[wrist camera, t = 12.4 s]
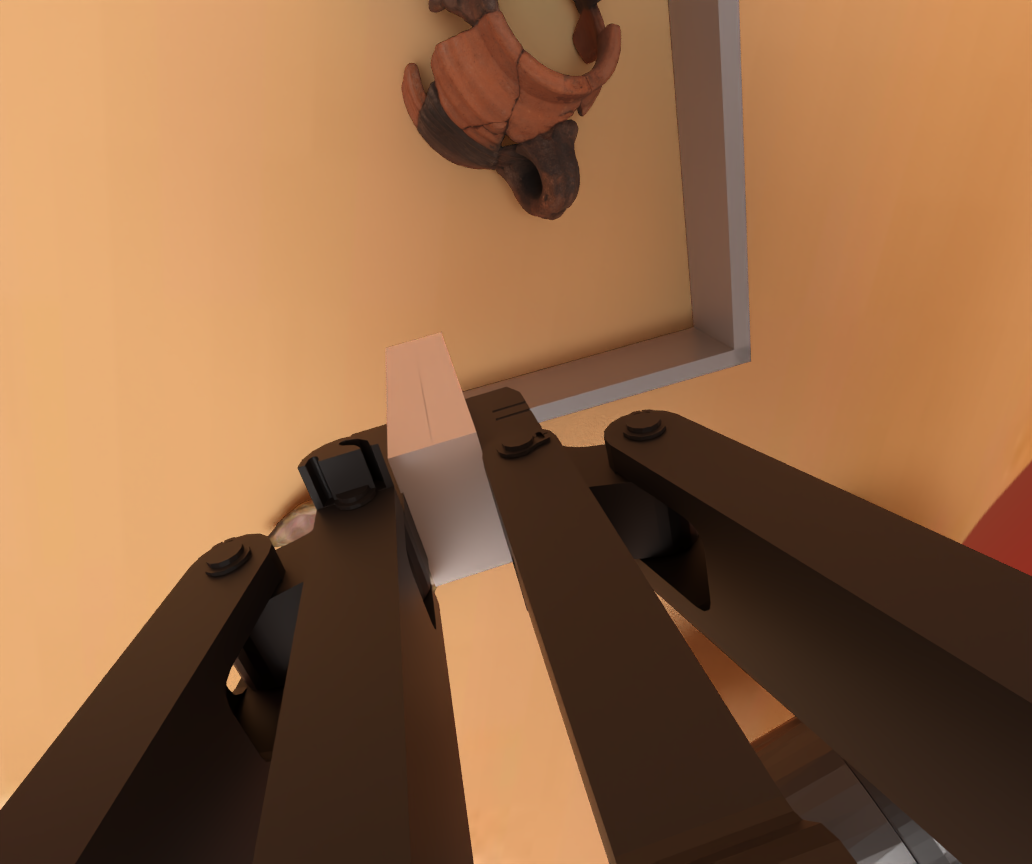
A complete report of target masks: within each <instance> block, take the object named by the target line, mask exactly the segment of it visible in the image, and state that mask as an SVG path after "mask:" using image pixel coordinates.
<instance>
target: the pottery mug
mask: <svg viewBox="0 0 1032 864" xmlns="http://www.w3.org/2000/svg"><path fill="white" fill-rule="evenodd" d="M573 1H574V2H575V5H576V8H577V10H578V12H579V13H580V17H579V20H578V23H577V25H576V29H575V32H574V35H573V42H574V45H575V47H576V49H577V51H578V53H579V55H580V56H581V57H582V59H583V61H584V62H585V63H586V64H588V63H591V62H593V61H595V60H596V63H595V65H594V67H593V69H592V70H591V71H590V72H588V73H586V74H584V75H582V76H569V75H563V74H560V73H558V72H555V71H553V70H551V69H549V68H547V67H546V66H544V65H543V64H541V63H539V62H538V61H537V60H536V59H535V58H534V57H532V56H531V55H530V54H529V53H528V52H527V51H525V50H524V49H523V47H522V45H521V44H520V43H519V41H518V40H517V39H516V38H515V36H514V34H513V33H512V31H511V29H510V28H509V26H508V24H507V22H506V20H505V18H504V16H503V14H502V12H501V11H500V9H499V7H498V0H429V9H430V11H431V12H435V13H436V12H439V11H442V10H444V9H445V8H446V9H447V10H448V11H449V12H452V13H454V14H456V15H458V16H460V17H462V18H463V19H464V20H465V21H466V22H468V23H469V24H470V25H472V28H471V29H470V30H466V31H463V32H461V33H459V34H458V35H456V36H453V37H451V38H449V39H447V40H445V41H443V42H440V43H439V44H437V45H436V47H435V51H434V53H433V55H432V60H431V68H432V71H433V75H434V78H435V81H434V82H432V83H431V84H430V87H429V89H428V92H427V97H426V94H425V92H424V89H423V86H422V83H421V79H420V75H419V71H418V67H417V65H416V64H415V63H409V64H408V65H407V66H406V68H405V72H404V78H403V83H402V93H403V98H404V102H405V105H406V108H407V110H408V113H409V115H410V117H411V119H412V121H413V123H414V125H415V126H416V127H417V129H418V131H419V133H420V134H421V136H422V137H423V138H424V139H425V140H426V141H427V143H428V144H429V145H430V146H431V147H432V148H433V149H434V150H435V151H437V152H438V153H439V154H440V155H442V156H443V157H444V158H446V159H447V160H449V161H451V162H452V163H455V164H457V165H461V166H464V167H468V168H473V169H492V170H495V169H496V171H497V173H498V174H500V175H501V176H502V177H503V178H504V179H505V180H506V182H507V183H508V184H509V186H510V188H511V189H512V191H513V193H514V195H515V197H516V199H517V200H518V202H519V203H520V205H521V206H522V208H523V209H524V210H526V211H527V212H528V213H529V214H531V215H534V216H538V217H541V218H544V219H550V220H554V219H556V218H559V217H560V216H561V215H562V214H563V213H564V211H565V210H566V209H567V208H569V207H570V206H571V205H572V203H573V202H574V200H575V199H576V197H577V194H578V190H579V185H580V174H579V166H578V162H577V159H576V156H575V150H574V142H575V139H576V136H577V132H578V126H577V124H576V122H575V121H573V120H567V119H568V118H569V117H570V116H572V115H573V113H574V111H575V110H576V109H577V111H578V114H579V115H580V116H584V115H585V114H586V113H587V112H588V110H589V109H590V107H591V106H592V104H593V103H594V101H595V99H596V97H597V96H598V94H599V92H600V90H601V87H602V85H603V84H604V83H606V82H607V80H608V79H609V78H610V77H611V75H612V74H613V72H614V71H615V68H616V65H617V63H618V59H619V55H620V51H621V30H620V26H618V25H615V24H613V23H612V24H609V25H607V26H606V27H605V25H604V21H603V18H602V16H601V13H600V11H599V8H598V6H597V2H599V1H600V0H573ZM505 135H507V136H509V138H510V139H511V140H512V141H514V142H517V143H519V144H512V145H508V146H504V147H502V146H501V143H502V141H503V139H504V136H505Z"/></svg>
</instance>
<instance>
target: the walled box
mask: <svg viewBox="0 0 1032 864" xmlns="http://www.w3.org/2000/svg"><path fill="white" fill-rule="evenodd" d="M668 5H669V18H670V31H671V43H672V56H673V69H674V82H675V95H676V108H677V120H678V133H679V146H680V159H681V172H682V185H683V198H684V210H685V223H686V236H687V249H688V262H689V275H690V288H691V300H692V313H693V326H694V327H692V328H688V329H685V330H681V331H678V332H674V333H671V334H667V335H664V336H660V337H656V338H653V339H649V340H646V341H642V342H639V343H635V344H631V345H628V346H624V347H621V348H617V349H614V350H610V351H607V352H603V353H599V354H596V355H592V356H589V357H585V358H582V359H578V360H574V361H571V362H567V363H564V364H560V365H557V366H553V367H550V368H546V369H542V370H539V371H535V372H532V373H528V374H525V375H521V376H518V377H514V378H510V379H507V380H503V381H500V382H496V383H493V384H489V385H485V386H482V387H478V388H475V389H471V390H468V391H464V392H462V393H463V395H464V398H465V399H467V398H470V397H473V396H477V395H480V394H483V393H487V392H490V391H493V390H497V389H500V388H503V387H509V388H511V389H514V390H516V391H519V392H520V393H521V394H522V396H523V398H524V399H525V401H526V403H527V404H528V406H529V408H530V410H531V411H532V413H533V414H534V416H535V418H536V419H537V421H538V423H540V422H543V421H546V420H550V419H553V418H557V417H560V416H564V415H567V414H571V413H574V412H578V411H581V410H584V409H588V408H591V407H595V406H598V405H602V404H605V403H609V402H612V401H616V400H619V399H622V398H626V397H629V396H633V395H636V394H640V393H643V392H647V391H650V390H654V389H657V388H660V387H664V386H667V385H671V384H674V383H678V382H681V381H685V380H688V379H692V378H695V377H698V376H702V375H705V374H709V373H712V372H716V371H719V370H723V369H726V368H730V367H733V366H736V365H740V364H743V363H747V362H750V361H751V348H750V318H749V288H748V259H747V229H746V199H745V169H744V139H743V109H742V79H741V50H740V20H739V0H668Z"/></svg>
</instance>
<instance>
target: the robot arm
mask: <svg viewBox="0 0 1032 864" xmlns="http://www.w3.org/2000/svg"><path fill="white" fill-rule="evenodd" d="M386 397H387V424H385V425H382V426H379V427H375V428H372V429H369V430H365V431H362V432H359V433H355V434H352V435H351V437H346V438H341V439H338V440H336V441H333V442H330V443H328V444H325V445H323V446H322V447H320V448H318V449H316V450H314V451H313V452H311V453H310V454H309V455H308V456H306V457H305V458H304V459H303V460H302V461H301V463H300V464H299V466H298V470H299V472H300V474H301V477H302V479H303V481H304V483H305V485H306V488H307V490H308V492H309V494H310V496H311V499H312V501H313V503H314V505H315V507H316V510H317V511H316V516H315V522H314V527H313V530H312V531H311V532H309V533H308V534H306V535H304V536H302V537H301V538H299V539H297V540H295V541H293V542H291V543H289V544H287V545H285V546H283V547H281V548H279V549H277V550H275V548H274V546H273V544H272V542H271V540H270V538H269V537H268V536H265V535H262V534H247V535H243V536H240V537H236V538H235V537H233V538H230V539H227V540H225V541H224V543H223V542H221V543H219V544H217V545H215V546H214V547H212V549H211V550H209V551H208V552H207V553H205V554H204V555H202V556H201V557H200V558H199V559H198V560H197V561H196V562H195V563H194V564H193V565H192V566H191V567H190V568H189V569H188V570H187V572H186V573H185V574H184V575H183V577H182V578H181V579H180V581H179V582H178V583H177V584H176V586H175V587H174V588H173V589H172V591H171V592H170V593H169V595H168V596H167V597H166V598H165V600H164V601H163V602H162V604H161V605H160V606H159V607H158V609H157V610H156V611H155V613H154V614H153V615H152V616H151V618H150V619H149V620H148V622H147V623H146V624H145V625H144V627H143V628H142V629H141V631H140V632H139V633H138V634H137V636H136V637H135V638H134V639H133V641H132V642H131V643H130V645H129V646H128V647H127V648H126V650H125V651H124V652H123V654H122V655H121V656H120V657H119V659H118V660H117V661H116V663H115V664H114V665H113V666H112V668H111V669H110V670H109V672H108V673H107V674H106V675H105V677H104V678H103V679H102V681H101V682H100V683H99V684H98V686H97V687H96V688H95V689H94V691H93V692H92V693H91V695H90V696H89V697H88V698H87V700H86V701H85V702H84V704H83V705H82V706H81V707H80V709H79V710H78V711H77V713H76V714H75V715H74V716H73V718H72V719H71V720H70V722H69V723H68V724H67V725H66V727H65V728H64V729H63V731H62V732H61V733H60V734H59V736H58V737H57V738H56V739H55V741H54V742H53V743H52V745H51V746H50V747H49V748H48V750H47V751H46V752H45V754H44V755H43V756H42V757H41V759H40V760H39V761H38V763H37V764H36V765H35V766H34V768H33V769H32V770H31V772H30V773H29V774H28V775H27V777H26V778H25V779H24V781H23V782H22V783H21V784H20V786H19V787H18V788H17V789H16V791H15V792H14V793H13V795H12V796H11V797H10V798H9V800H8V801H7V802H6V804H5V805H4V806H3V807H2V809H1V810H0V864H474V863H473V855H472V848H471V840H470V833H469V825H468V818H467V810H466V803H465V795H464V788H463V780H462V773H461V765H460V758H459V750H458V743H457V735H456V728H455V721H454V713H453V706H452V698H451V691H450V683H449V676H448V668H447V661H446V653H445V646H444V638H443V631H442V623H441V616H440V608H439V603H438V600H437V598H436V595H435V592H434V590H433V587H432V585H431V581H430V573H431V575H432V578H433V581H434V583H435V586H439V585H442V584H446V583H449V582H452V581H455V580H458V579H461V578H464V577H467V576H470V575H473V574H477V573H480V572H483V571H486V570H489V569H492V568H495V567H498V566H501V565H504V564H508V563H511V562H513V564H514V568H515V571H516V574H517V578H518V581H519V585H520V588H521V591H522V595H523V598H524V601H525V605H526V608H527V611H528V612H529V615H530V618H531V621H532V624H533V628H534V631H535V634H536V637H537V640H538V643H539V646H540V649H541V652H542V656H543V659H544V662H545V665H546V668H547V671H548V674H549V677H550V680H551V684H552V687H553V690H554V693H555V696H556V699H557V702H558V705H559V708H560V712H561V715H562V718H563V721H564V724H565V727H566V730H567V733H568V736H569V740H570V743H571V746H572V749H573V752H574V755H575V758H576V761H577V764H578V768H579V771H580V774H581V777H582V780H583V783H584V786H585V789H586V792H587V795H588V799H589V802H590V805H591V808H592V811H593V814H594V817H595V820H596V823H597V827H598V830H599V833H600V836H601V839H602V842H603V845H604V848H605V851H606V855H607V858H608V861H609V864H1032V576H1030V575H1028V574H1025V573H1023V572H1021V571H1019V570H1017V569H1015V568H1012V567H1010V566H1008V565H1006V564H1004V563H1001V562H999V561H997V560H995V559H993V558H991V557H988V556H986V555H984V554H982V553H980V552H977V551H975V550H973V549H971V548H969V547H966V546H964V545H962V544H960V543H958V542H956V541H953V540H951V539H949V538H947V537H945V536H942V535H940V534H938V533H936V532H934V531H931V530H929V529H927V528H925V527H923V526H921V525H918V524H916V523H914V522H912V521H910V520H907V519H905V518H903V517H901V516H899V515H896V514H894V513H892V512H890V511H888V510H886V509H883V508H881V507H879V506H877V505H875V504H872V503H870V502H868V501H866V500H864V499H861V498H859V497H857V496H855V495H853V494H851V493H848V492H846V491H844V490H842V489H840V488H837V487H835V486H833V485H831V484H829V483H826V482H824V481H822V480H820V479H818V478H816V477H813V476H811V475H809V474H807V473H805V472H802V471H800V470H798V469H796V468H794V467H791V466H789V465H787V464H785V463H783V462H781V461H778V460H776V459H774V458H772V457H770V456H767V455H765V454H763V453H761V452H759V451H756V450H754V449H752V448H750V447H748V446H746V445H743V444H741V443H739V442H737V441H735V440H732V439H730V438H728V437H726V436H724V435H721V434H719V433H717V432H715V431H713V430H711V429H708V428H706V427H704V426H702V425H700V424H697V423H695V422H693V421H691V420H689V419H686V418H684V417H682V416H680V415H678V414H675V413H671V412H667V411H655V410H642V412H640V411H636V412H632V413H631V414H629V415H626V416H623V417H620V418H619V419H617V420H615V421H614V422H612V423H610V425H609V426H608V427H607V428H606V430H605V431H604V440H605V445H597V446H590V447H566V446H562V444H561V442H560V441H559V439H558V438H557V436H556V435H555V434H553V433H552V432H551V431H549V430H544V429H542V428H541V426H540V424H539V423H538V421H537V419H536V418H535V416H534V414H533V413H532V411H531V410H530V408H529V406H528V404H527V403H526V401H525V399H524V398H523V396H522V394H521V393H520V392H519V391H516V390H514V389H511V388H509V387H503V388H500V389H497V390H493V391H490V392H487V393H483V394H480V395H477V396H473V397H470V398H467V399H465V398H464V395H463V393H462V390H461V387H460V384H459V381H458V378H457V375H456V373H455V370H454V367H453V364H452V361H451V358H450V355H449V353H448V350H447V347H446V344H445V341H444V338H443V335H442V333H441V332H439V333H436V334H432V335H429V336H425V337H422V338H418V339H415V340H411V341H408V342H404V343H401V344H397V345H394V346H391V347H387V348H386ZM429 570H430V572H429ZM654 591H655V592H656V593H657V594H658V595H660V596H661V597H662V598H663V599H664V600H665V601H666V602H667V603H669V604H670V605H671V606H672V607H673V608H674V609H675V610H676V611H678V612H679V613H680V614H681V615H682V616H683V617H684V618H685V619H687V620H688V621H689V622H690V623H691V624H692V625H693V626H694V627H696V628H697V629H698V630H699V631H700V632H701V633H702V634H704V635H705V636H706V637H707V638H708V639H709V640H710V641H711V642H713V643H714V644H715V645H716V646H717V647H718V648H719V649H720V650H722V651H723V652H724V653H725V654H726V655H727V656H728V657H729V658H731V659H732V660H733V661H734V662H735V663H736V664H737V665H738V666H740V667H741V668H742V669H743V670H744V671H745V672H746V673H748V674H749V675H750V676H751V677H752V678H753V679H754V680H755V681H757V682H758V683H759V684H760V685H761V686H762V687H763V688H764V689H766V690H767V691H768V692H769V693H770V694H771V695H772V696H773V697H775V698H776V699H777V700H778V701H779V702H780V703H781V704H782V705H784V706H785V707H786V708H787V709H788V710H789V711H790V712H792V713H793V714H794V715H795V717H793V718H791V719H790V720H788V721H786V722H785V723H783V724H781V725H780V726H778V727H776V728H775V729H773V730H771V731H770V732H768V733H766V734H764V735H763V736H761V737H759V738H758V739H756V740H754V741H753V742H751V743H749V741H748V739H747V738H746V736H745V735H744V733H743V732H742V730H741V728H740V727H739V725H738V724H737V722H736V720H735V719H734V717H733V716H732V714H731V712H730V711H729V709H728V708H727V706H726V705H725V703H724V701H723V700H722V698H721V697H720V695H719V693H718V692H717V690H716V689H715V687H714V685H713V684H712V682H711V681H710V679H709V678H708V676H707V674H706V673H705V671H704V670H703V668H702V666H701V665H700V663H699V662H698V660H697V658H696V657H695V655H694V654H693V652H692V651H691V649H690V647H689V646H688V644H687V643H686V641H685V639H684V638H683V636H682V635H681V633H680V631H679V630H678V628H677V627H676V625H675V624H674V622H673V620H672V619H671V617H670V616H669V614H668V612H667V611H666V609H665V608H664V606H663V604H662V603H661V601H660V600H659V598H658V597H657V595H656V593H655V592H654ZM233 665H234V666H235V668H236V670H237V671H238V673H239V674H240V676H241V679H240V681H239V683H238V685H237V687H236V689H235V690H234V691H233V692H231V691H230V690H229V689H228V687H227V686H226V682H227V679H228V676H229V673H230V670H231V667H232V666H233Z"/></svg>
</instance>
